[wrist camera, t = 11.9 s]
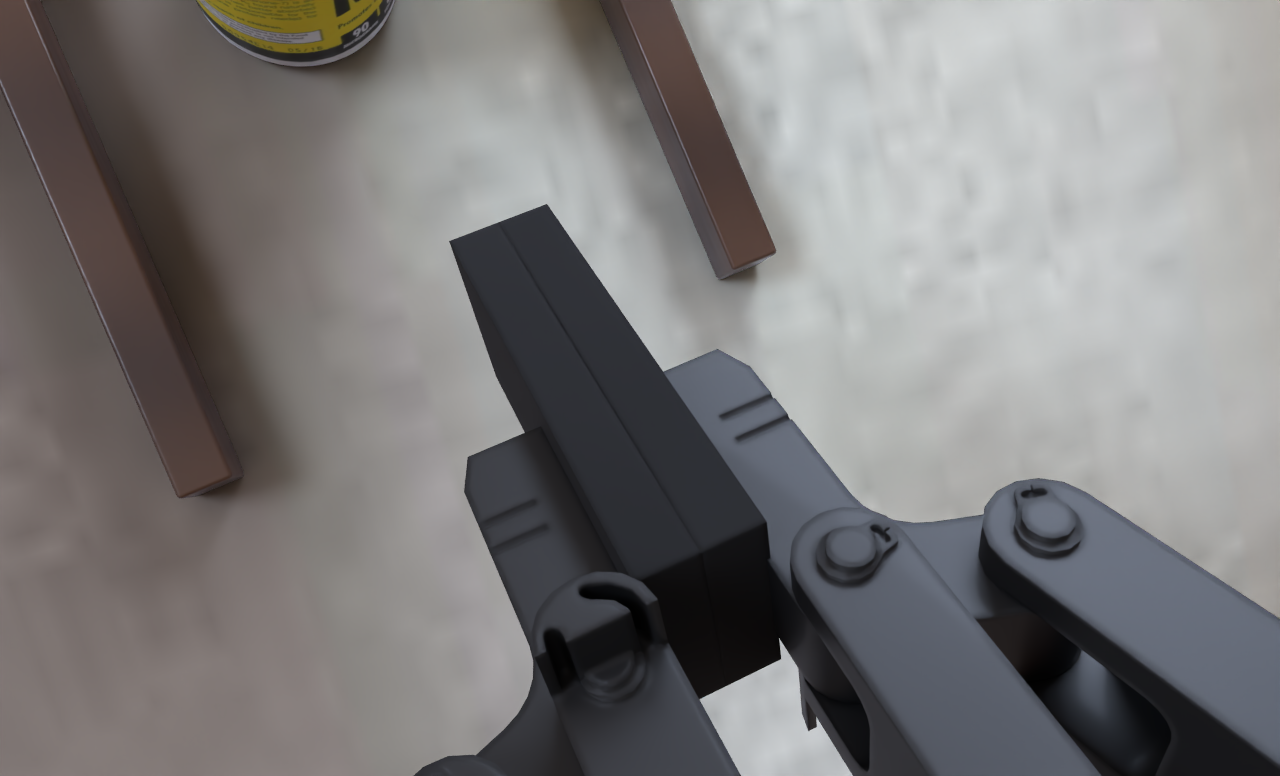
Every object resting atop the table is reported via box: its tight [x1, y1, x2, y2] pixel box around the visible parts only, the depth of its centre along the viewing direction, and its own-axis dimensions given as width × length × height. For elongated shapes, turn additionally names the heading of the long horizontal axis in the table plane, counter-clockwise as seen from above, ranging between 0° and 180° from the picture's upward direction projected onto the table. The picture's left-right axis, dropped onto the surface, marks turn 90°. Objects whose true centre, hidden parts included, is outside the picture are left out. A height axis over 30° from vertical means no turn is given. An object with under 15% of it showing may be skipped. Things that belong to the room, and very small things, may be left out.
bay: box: [0, 0, 776, 498], centre depth 24 cm, size 16×14×2 cm
